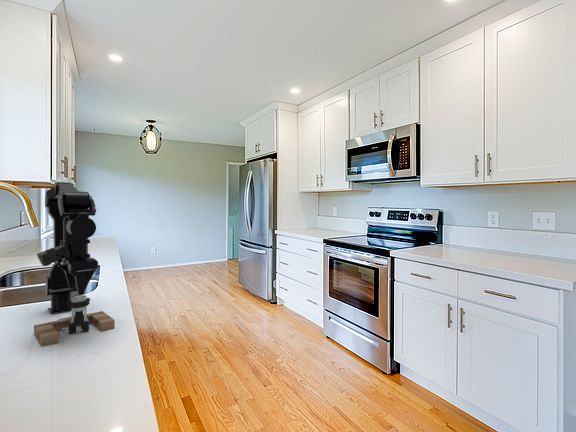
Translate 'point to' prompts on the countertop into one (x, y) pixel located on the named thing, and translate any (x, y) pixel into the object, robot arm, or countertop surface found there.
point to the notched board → (49, 331)
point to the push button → (78, 315)
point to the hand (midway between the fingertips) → (76, 291)
